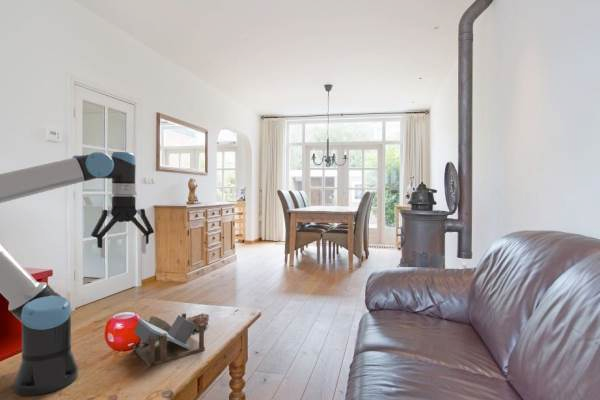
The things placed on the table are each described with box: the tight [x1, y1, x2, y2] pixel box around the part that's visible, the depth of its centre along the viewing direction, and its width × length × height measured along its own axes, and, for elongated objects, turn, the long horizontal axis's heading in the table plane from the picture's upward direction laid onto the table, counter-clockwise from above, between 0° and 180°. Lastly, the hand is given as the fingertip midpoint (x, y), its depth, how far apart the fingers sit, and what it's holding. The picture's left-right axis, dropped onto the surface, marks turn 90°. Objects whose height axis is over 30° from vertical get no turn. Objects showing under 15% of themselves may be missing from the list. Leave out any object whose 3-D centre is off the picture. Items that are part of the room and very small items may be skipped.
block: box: [168, 314, 197, 344], centre depth 129 cm, size 6×6×7 cm
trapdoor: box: [133, 318, 191, 349], centre depth 124 cm, size 16×13×4 cm
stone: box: [148, 315, 172, 332], centre depth 140 cm, size 10×7×10 cm
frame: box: [133, 312, 206, 367], centre depth 126 cm, size 19×18×9 cm
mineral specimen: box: [186, 313, 210, 332], centre depth 146 cm, size 12×8×7 cm
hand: (124, 255), depth 129 cm, fingers open, 13 cm apart
